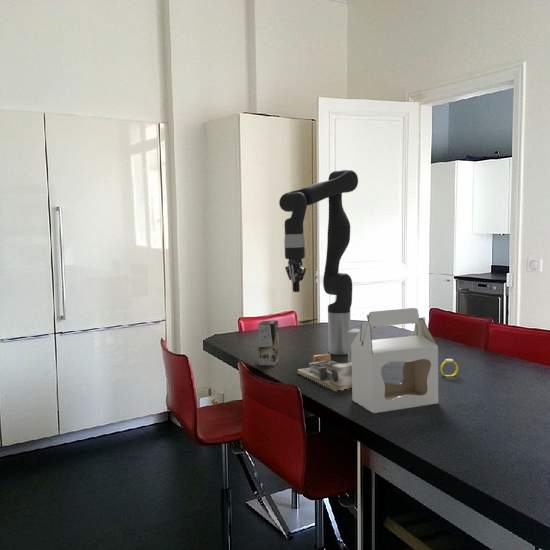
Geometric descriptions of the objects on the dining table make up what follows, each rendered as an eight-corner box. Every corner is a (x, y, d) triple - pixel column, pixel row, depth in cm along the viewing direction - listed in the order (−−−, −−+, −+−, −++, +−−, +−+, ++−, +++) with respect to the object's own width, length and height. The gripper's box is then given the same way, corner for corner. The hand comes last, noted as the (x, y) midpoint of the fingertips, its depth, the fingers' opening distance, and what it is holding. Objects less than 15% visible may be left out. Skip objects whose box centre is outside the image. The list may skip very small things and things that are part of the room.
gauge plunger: (328, 366, 209) (328, 353, 208) (336, 370, 204) (336, 356, 203) (303, 370, 205) (303, 356, 204) (311, 374, 200) (310, 360, 199)
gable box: (414, 391, 182) (413, 304, 180) (439, 403, 170) (438, 309, 167) (351, 400, 175) (349, 309, 173) (372, 413, 163) (370, 316, 160)
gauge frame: (333, 367, 214) (333, 348, 214) (373, 385, 191) (373, 362, 190) (297, 373, 208) (297, 353, 208) (334, 391, 185) (333, 368, 184)
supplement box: (371, 361, 223) (370, 329, 222) (366, 365, 216) (365, 332, 215) (353, 359, 226) (352, 328, 225) (347, 364, 219) (346, 331, 218)
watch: (442, 378, 197) (441, 361, 197) (439, 376, 200) (438, 359, 199) (459, 376, 198) (458, 359, 197) (456, 374, 200) (455, 357, 200)
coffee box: (275, 365, 220) (273, 324, 219) (258, 365, 222) (257, 324, 220) (279, 360, 229) (278, 320, 228) (263, 359, 230) (262, 320, 229)
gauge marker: (325, 377, 195) (324, 366, 194) (326, 377, 194) (326, 367, 193) (319, 378, 194) (319, 367, 193) (320, 378, 193) (320, 368, 192)
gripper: (311, 246, 212) (313, 292, 214) (295, 245, 224) (296, 289, 225) (293, 247, 209) (295, 294, 210) (278, 246, 221) (279, 290, 222)
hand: (296, 291), depth 218 cm, fingers closed
